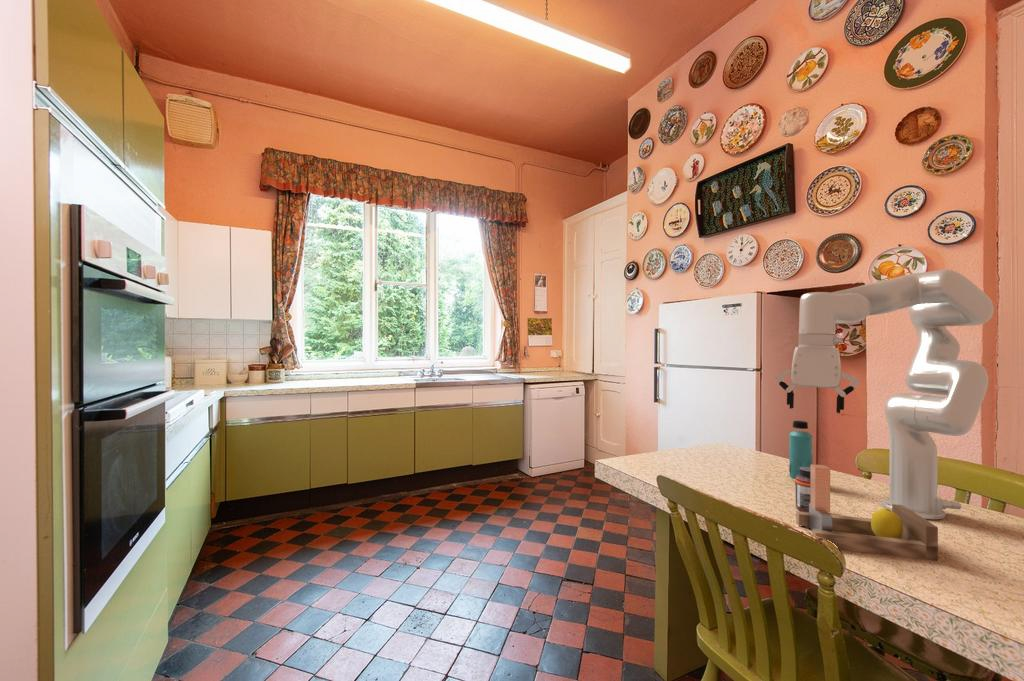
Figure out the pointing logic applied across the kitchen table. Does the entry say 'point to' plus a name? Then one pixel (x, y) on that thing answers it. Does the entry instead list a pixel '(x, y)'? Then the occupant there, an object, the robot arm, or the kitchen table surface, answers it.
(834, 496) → the kitchen table surface
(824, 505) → the sliding jaw
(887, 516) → the lemon
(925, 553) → the frame
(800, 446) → the beverage bottle
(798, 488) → the supplement bottle
